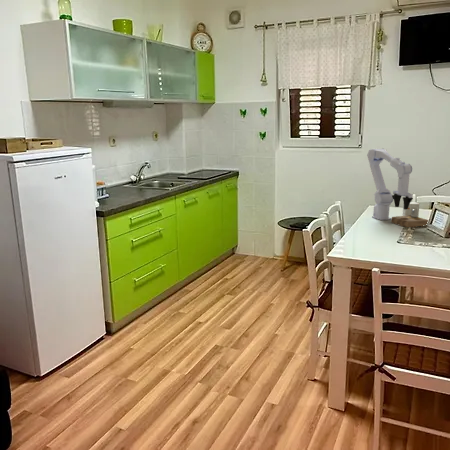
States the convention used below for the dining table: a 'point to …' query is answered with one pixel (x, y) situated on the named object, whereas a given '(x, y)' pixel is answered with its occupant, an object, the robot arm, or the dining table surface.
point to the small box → (411, 206)
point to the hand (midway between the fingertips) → (401, 208)
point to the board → (409, 221)
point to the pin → (414, 213)
